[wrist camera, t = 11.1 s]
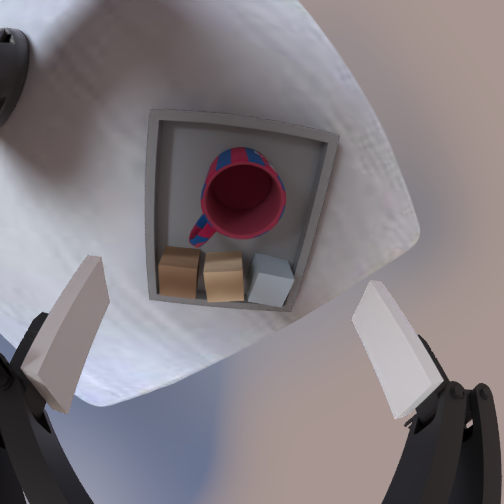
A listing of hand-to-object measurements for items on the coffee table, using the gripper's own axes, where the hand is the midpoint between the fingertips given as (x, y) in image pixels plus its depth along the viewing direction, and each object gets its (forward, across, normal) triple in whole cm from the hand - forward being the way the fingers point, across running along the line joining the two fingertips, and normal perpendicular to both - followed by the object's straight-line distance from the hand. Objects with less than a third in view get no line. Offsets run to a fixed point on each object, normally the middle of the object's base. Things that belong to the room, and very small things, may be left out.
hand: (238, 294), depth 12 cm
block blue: (+17, +5, -10) cm, 20 cm away
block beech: (+17, 0, -10) cm, 20 cm away
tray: (+18, 0, -4) cm, 18 cm away
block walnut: (+17, -5, -10) cm, 20 cm away
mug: (+17, 0, 0) cm, 17 cm away
